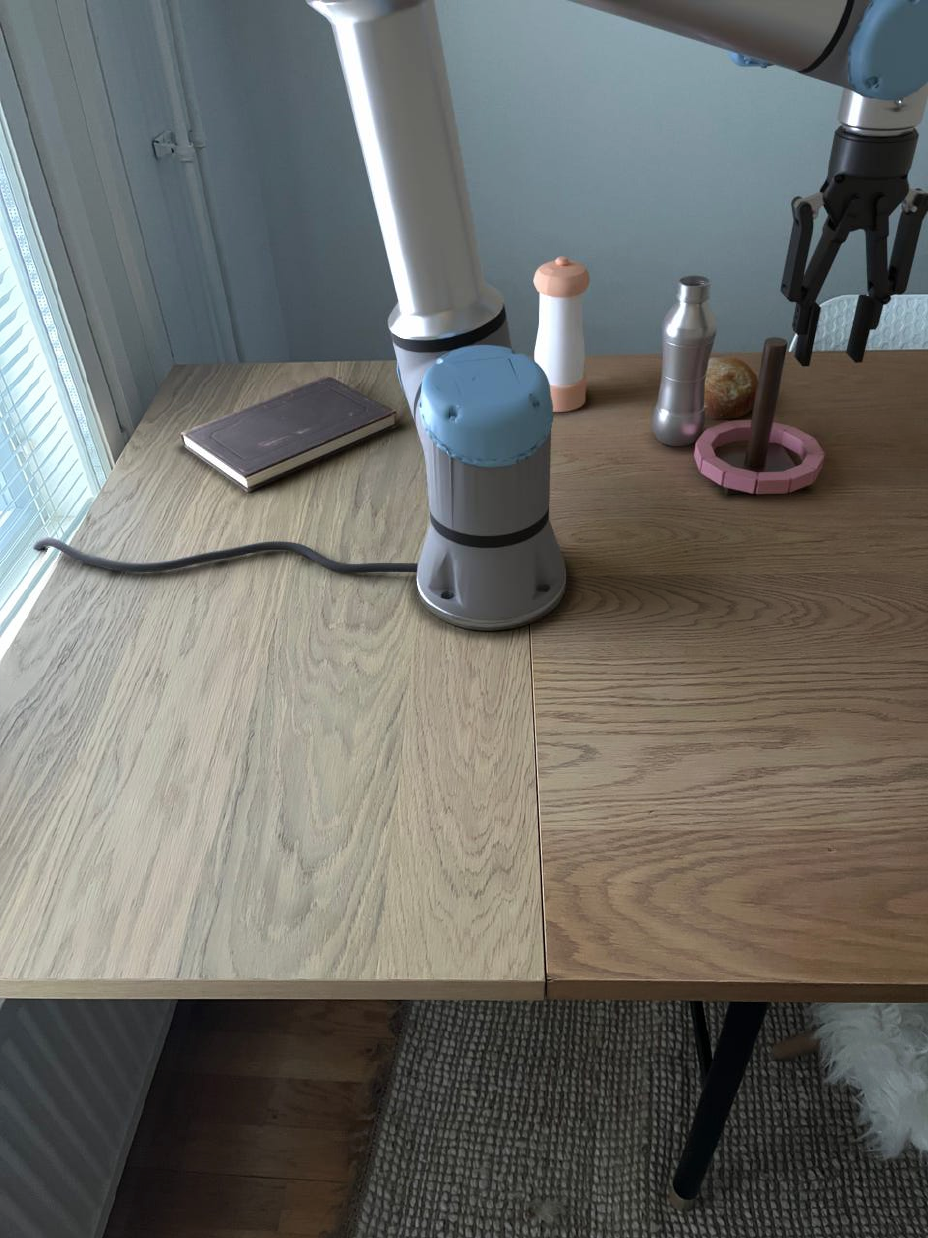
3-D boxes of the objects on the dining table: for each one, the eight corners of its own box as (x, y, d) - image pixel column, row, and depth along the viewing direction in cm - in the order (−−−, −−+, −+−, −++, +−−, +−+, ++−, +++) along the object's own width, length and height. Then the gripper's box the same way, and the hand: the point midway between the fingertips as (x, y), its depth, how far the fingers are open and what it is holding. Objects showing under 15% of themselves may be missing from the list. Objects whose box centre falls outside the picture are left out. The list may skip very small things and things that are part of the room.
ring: (708, 496, 107) (710, 482, 106) (685, 434, 118) (687, 421, 117) (835, 491, 106) (838, 477, 105) (800, 430, 117) (803, 417, 116)
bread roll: (674, 416, 131) (658, 373, 126) (733, 372, 131) (719, 327, 126) (718, 447, 124) (702, 403, 119) (780, 401, 124) (768, 354, 119)
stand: (726, 494, 109) (747, 362, 99) (705, 455, 116) (723, 327, 106) (803, 489, 109) (832, 356, 99) (778, 450, 116) (802, 322, 106)
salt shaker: (526, 409, 127) (526, 265, 115) (538, 385, 133) (540, 245, 120) (579, 414, 125) (585, 269, 113) (590, 390, 131) (597, 249, 119)
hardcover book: (397, 426, 125) (396, 410, 124) (247, 492, 114) (244, 476, 112) (328, 388, 135) (325, 373, 133) (183, 446, 123) (179, 430, 122)
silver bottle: (642, 446, 118) (657, 287, 106) (660, 422, 123) (676, 267, 110) (693, 456, 116) (714, 295, 103) (709, 432, 120) (731, 274, 108)
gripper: (796, 141, 86) (756, 379, 101) (992, 129, 87) (924, 368, 102) (770, 123, 92) (736, 350, 107) (953, 111, 93) (894, 339, 107)
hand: (827, 358), depth 104 cm, fingers open, 5 cm apart
